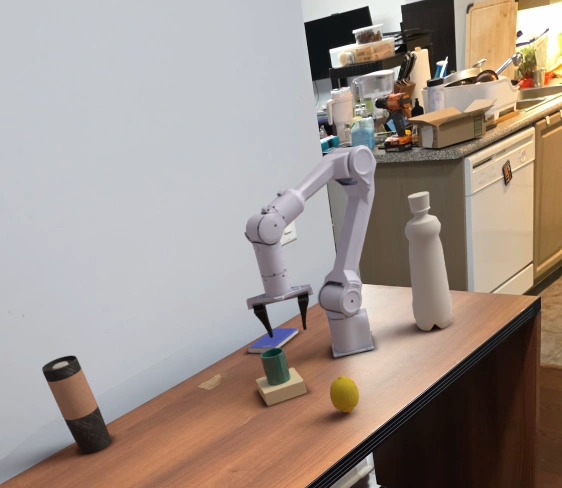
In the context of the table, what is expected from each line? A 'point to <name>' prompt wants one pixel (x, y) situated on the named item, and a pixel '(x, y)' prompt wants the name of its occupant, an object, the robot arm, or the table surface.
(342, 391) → the lemon
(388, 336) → the table surface
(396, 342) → the table surface
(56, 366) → the travel mug
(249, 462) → the table surface
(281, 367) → the cup
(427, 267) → the bottle
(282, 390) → the block
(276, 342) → the blue book
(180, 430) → the table surface
